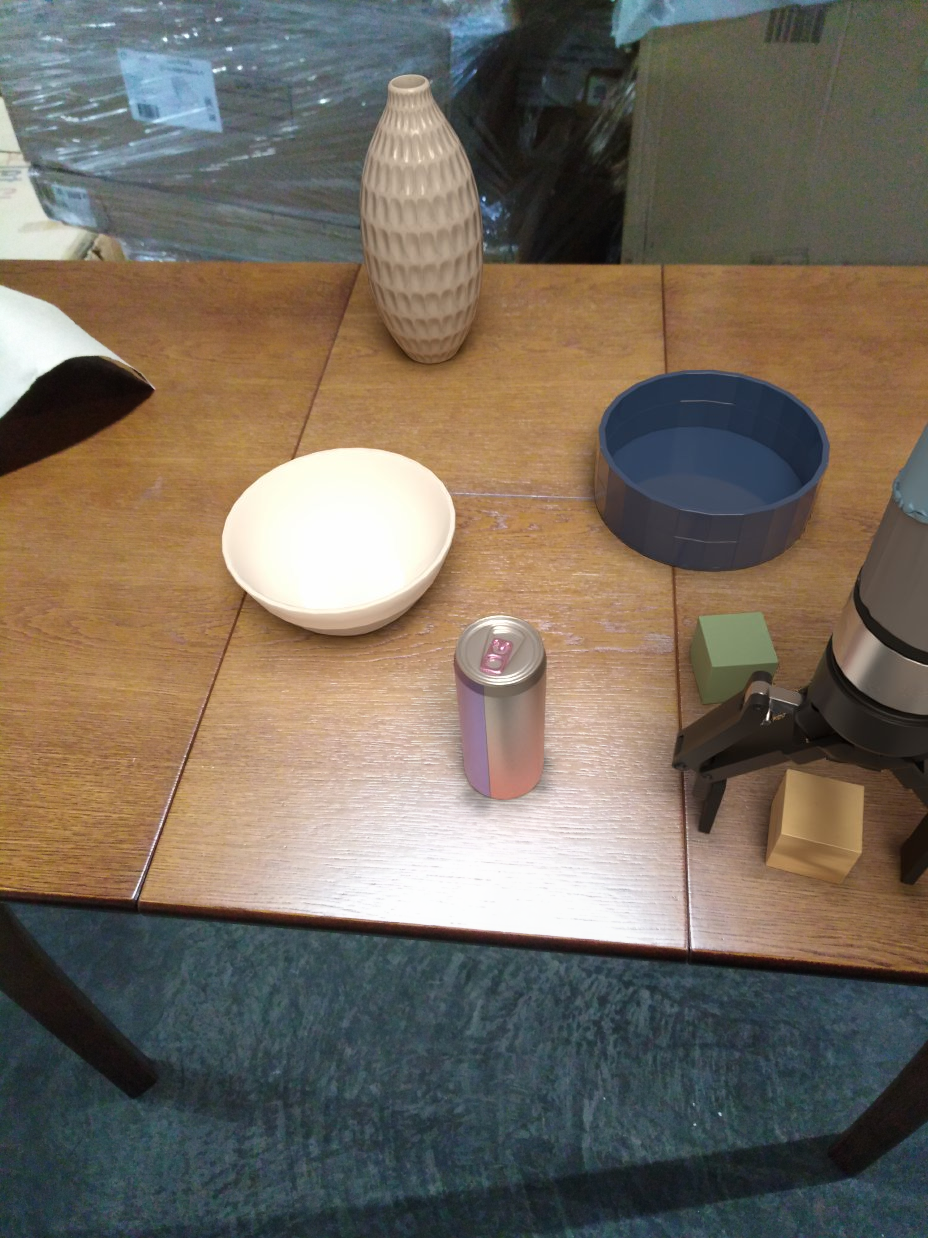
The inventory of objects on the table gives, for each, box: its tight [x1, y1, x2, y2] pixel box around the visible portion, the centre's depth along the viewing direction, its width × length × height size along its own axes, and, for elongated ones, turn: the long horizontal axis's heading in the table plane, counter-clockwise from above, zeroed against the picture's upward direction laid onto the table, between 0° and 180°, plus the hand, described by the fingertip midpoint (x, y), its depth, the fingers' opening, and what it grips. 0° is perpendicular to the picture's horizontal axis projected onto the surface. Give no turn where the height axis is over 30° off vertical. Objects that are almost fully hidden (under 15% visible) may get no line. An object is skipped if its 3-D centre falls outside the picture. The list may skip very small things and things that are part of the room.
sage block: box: [689, 611, 780, 705], centre depth 70 cm, size 5×5×5 cm
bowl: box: [221, 447, 457, 637], centre depth 77 cm, size 20×20×8 cm
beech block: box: [764, 768, 865, 885], centre depth 61 cm, size 5×5×5 cm
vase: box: [358, 74, 485, 365], centre depth 93 cm, size 13×13×28 cm
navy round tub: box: [593, 369, 831, 572], centre depth 83 cm, size 20×20×7 cm
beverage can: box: [453, 614, 548, 800], centre depth 62 cm, size 6×6×15 cm
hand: (804, 840), depth 63 cm, fingers open, 13 cm apart
